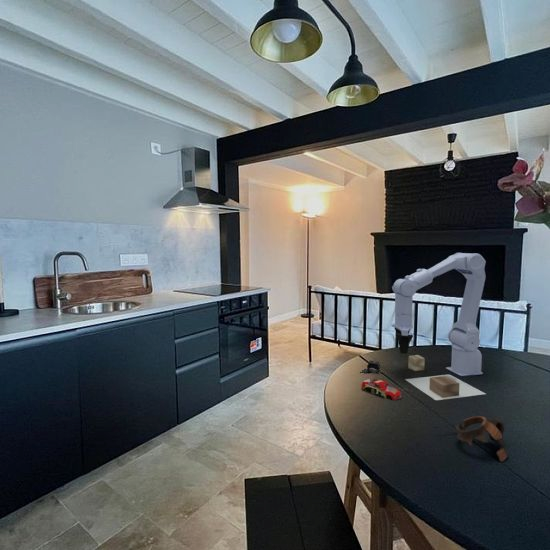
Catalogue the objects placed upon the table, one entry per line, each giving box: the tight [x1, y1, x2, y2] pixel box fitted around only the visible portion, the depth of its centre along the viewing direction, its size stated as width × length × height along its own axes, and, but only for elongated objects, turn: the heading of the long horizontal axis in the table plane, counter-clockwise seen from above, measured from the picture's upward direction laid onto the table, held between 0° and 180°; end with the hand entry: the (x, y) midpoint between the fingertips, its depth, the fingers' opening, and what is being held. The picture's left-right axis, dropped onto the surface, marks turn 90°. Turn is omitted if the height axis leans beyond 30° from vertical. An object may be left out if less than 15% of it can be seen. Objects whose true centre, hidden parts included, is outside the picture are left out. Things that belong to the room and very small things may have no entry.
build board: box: [404, 374, 486, 401], centre depth 111 cm, size 18×16×1 cm
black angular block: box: [359, 360, 383, 375], centre depth 124 cm, size 12×7×5 cm, turn 61°
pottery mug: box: [455, 415, 509, 463], centre depth 79 cm, size 12×10×8 cm
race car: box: [361, 378, 403, 401], centre depth 107 cm, size 13×6×4 cm, turn 40°
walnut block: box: [429, 375, 460, 398], centre depth 106 cm, size 6×6×4 cm
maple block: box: [407, 354, 426, 372], centre depth 126 cm, size 4×4×5 cm
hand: (402, 349), depth 120 cm, fingers open, 7 cm apart
